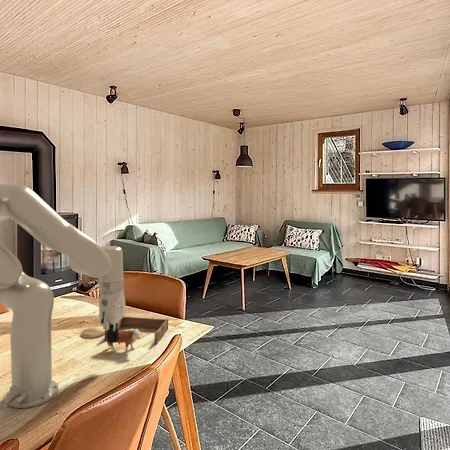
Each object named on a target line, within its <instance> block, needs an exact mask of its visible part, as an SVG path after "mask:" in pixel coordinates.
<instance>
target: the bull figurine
mask: <svg viewBox="0 0 450 450" xmlns="http://www.w3.org/2000/svg"><path fill="white" fill-rule="evenodd" d="M140 331H141V328H135V329H134V328H129V329H119V340H118V341H117V342H116V343H117V344H118V345H120V344H123V343H124V344H125V348H124V351H125V352H126V353H128V352H129V350H128V348H129V345H130V349H131V350H133V351H134V350H135V349H136V348H135V347H134V346H133V343H135V342H136V340H140V339H141V337H142V336H141V335H140V333H141V332H140ZM105 337H106V340H107V331H106V332H105V335H104V338H105ZM106 344H107V347H109V348H110V347H111V350H112V351H113V352H116V351H117V349H116V348H115V346H114V343H111V342H107V341H106Z"/></svg>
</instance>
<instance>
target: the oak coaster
mask: <svg viewBox="0 0 450 450" xmlns="http://www.w3.org/2000/svg"><path fill="white" fill-rule="evenodd" d="M80 333H81V334H80V336H81V337H82V338H84V339H97V338H101V337H103V336H105V329H103V327H99V326H98V327H89V328H86V329H84V330H82V331H81V332H80Z"/></svg>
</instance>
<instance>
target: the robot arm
mask: <svg viewBox="0 0 450 450" xmlns="http://www.w3.org/2000/svg"><path fill="white" fill-rule="evenodd" d="M2 216H5V217H8V218H10V219H11V220H13V221H14V222H15V223H16V224H17V225H18V226H20V227H21V228H22V229H24V230H25V231H26V232H27V233H28V234H30V235H31V236H32V237H33V238H35V240H36V241H38V242H39V243H40V244H42V245H44V246H45V247H47V248H48V249H51V250H54V251H57V252H59V253H61V254H63V255H64V256H66V257H68V266H69V267H70V269H71V270H72V271H73V272H75V273H77V274H81V275H84V276H88V277H91V278H94V279H98V280H97V281H98V292H99V305H98V306H99V308H98V309H99V310H98V313H99V314H98V315H99V317H98V318H99V323H100V324H101V325H103V326H102V328H103V329H105V330H106V331H107V341H106V343H107V342H111V343H113V344H116V343H117V341H118V340H119V330H120V329H117V328H119V321H120V320H121V319H122V318H123V317H126V314H127V309H126V299H125V298H126V297H125V291H124V290H125V289H124V288H125V287H124V286H125V285H124V284H125V283H124V261H123V260H124V256H123V253H124V252H123V248H122V247H120V246H117V245H106V246H100V245H99V244H98V243H97V242H95V241H94V240H93V238H91V237H89V236H88V235H86V234H85V233H84V232H82V231H81V230H79V229H78V228H77V227H75V226H74V225H73V224H71V223H69V222H68V221H66V220H65V219H64V218H63V216H60V214H58V212H56V210H54V209H53V208H52V207H51V206H50V205H49V204H48V203H47V202H46V201H44V200H43V198H41V196H39V195H38V194H37V193H36V192H35V191H34V190H32V189H31V188H30V187H28V186H26V185H24V184H20V183H0V217H2ZM0 304H1V305H3V306H4V307H5V308H8V309H9V310H11V311H12V320H11V324H10V338H9V339H10V373H11V385H10V387H9V390H8V391H7V392H6V394H5V395H4V396H5V397H4V398H3V399H2V400H0V407H1V408H2V409H5V408H6V407H8V406H9V407H11V408H15V409H17V408H18V409H27V408H33V407H37V406H40V405H42V404H45V403H47V402H49V401H51V400H53V398H55V396H57V394H58V392H59V384H58V383H57V382H56V381H55V380H53V379H52V378H53V377H52V376H53V374H52V373H53V371H52V369H53V367H52V366H53V365H52V318H53V317H52V316H53V310H54V304H55V297H54V292H53V290H52V288H51V287H50V285H49V284H47V283H46V282H44V281H42V280H40V279H38V278H35V277H32V276H29V275H27V274H26V273H25V272H24V271H23V267H22V263H21V262H20V260H19V258H18V257H17V256H16V255H14V254H13V253H12V252H11V251H10V250H9V249H8V248H6V246H5V245H3V244H2V242H0Z"/></svg>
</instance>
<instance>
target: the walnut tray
mask: <svg viewBox="0 0 450 450" xmlns="http://www.w3.org/2000/svg"><path fill="white" fill-rule="evenodd" d="M122 328H133V329H134V328H135V329H151V330H152V329H153V330H157V331H156V332H155V333H154V345H155V346H157V345H158V344H159V342H161V340H162V338H163V337H164V336H165V334H166V332H168V331H169V319H167V318H166V319H164V318H163V319H162V318H151V317H135V316H124V317H123V318H122V319H121V320H120V321H119V328H117V329H119V330H121V329H122ZM105 332H106V330H105ZM104 342H107V340H106V337H105V336H104Z"/></svg>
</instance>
